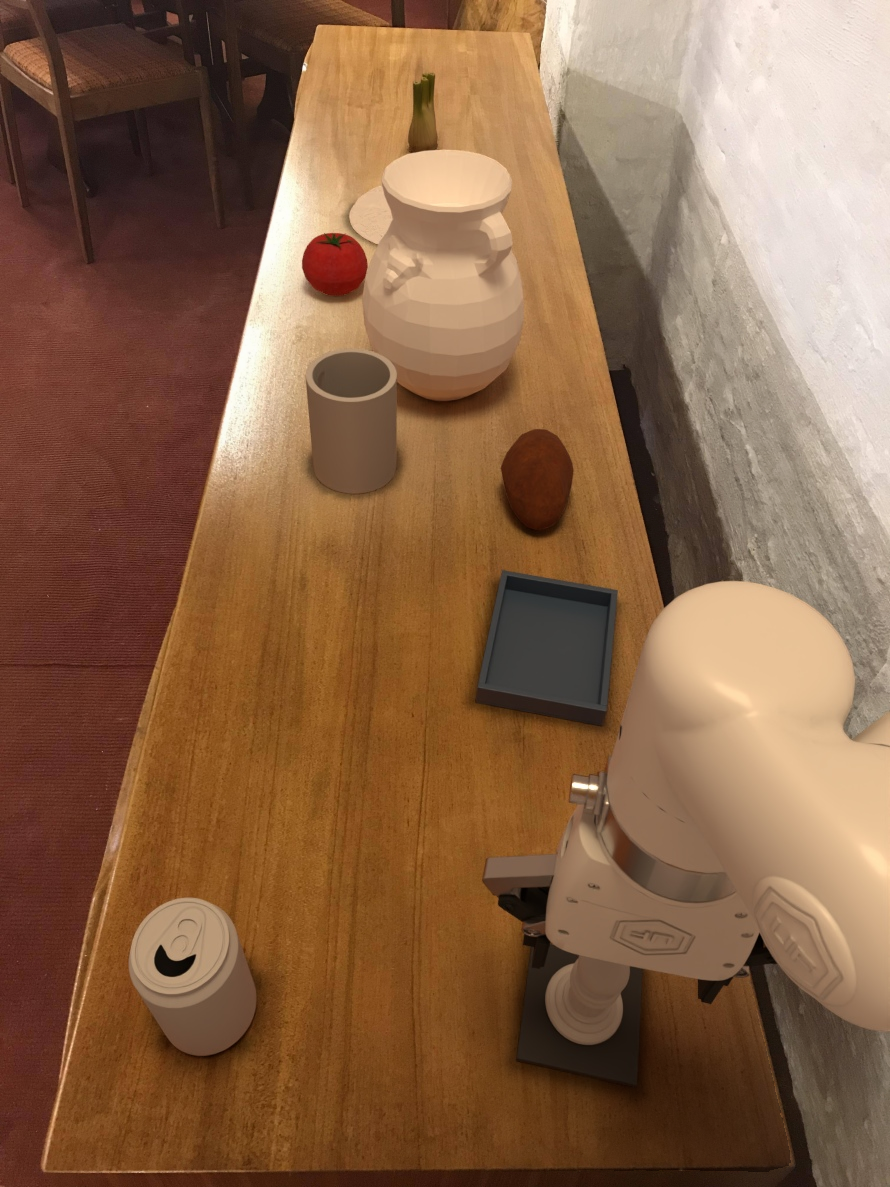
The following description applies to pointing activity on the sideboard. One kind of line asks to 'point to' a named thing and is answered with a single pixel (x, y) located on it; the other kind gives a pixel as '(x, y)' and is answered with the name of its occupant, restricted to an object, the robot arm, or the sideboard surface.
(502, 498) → the sideboard surface
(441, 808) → the sideboard surface
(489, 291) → the white vase
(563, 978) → the chess piece
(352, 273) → the tomato
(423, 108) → the fennel bulb
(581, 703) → the tray
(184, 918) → the beverage can
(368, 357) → the cup
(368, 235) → the plaque
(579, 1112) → the sideboard surface
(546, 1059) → the mat
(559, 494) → the potato
